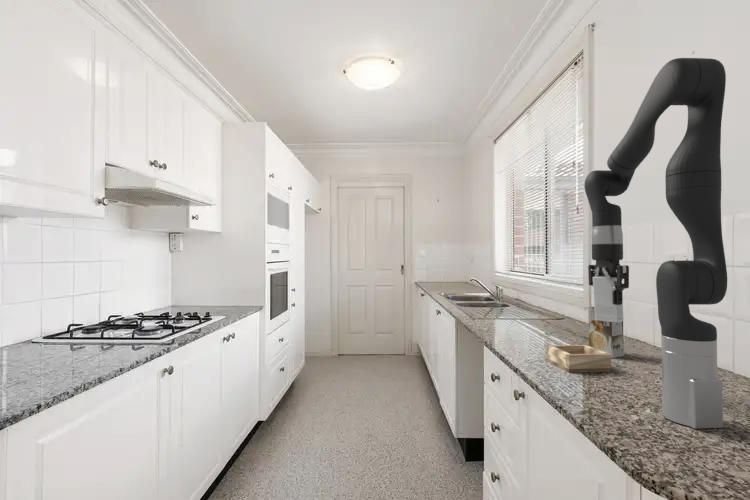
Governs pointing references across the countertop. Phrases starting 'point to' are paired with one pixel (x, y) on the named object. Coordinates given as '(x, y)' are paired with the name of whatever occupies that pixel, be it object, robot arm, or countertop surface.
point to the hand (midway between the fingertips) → (608, 302)
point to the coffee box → (606, 335)
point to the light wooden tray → (579, 358)
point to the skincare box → (605, 301)
